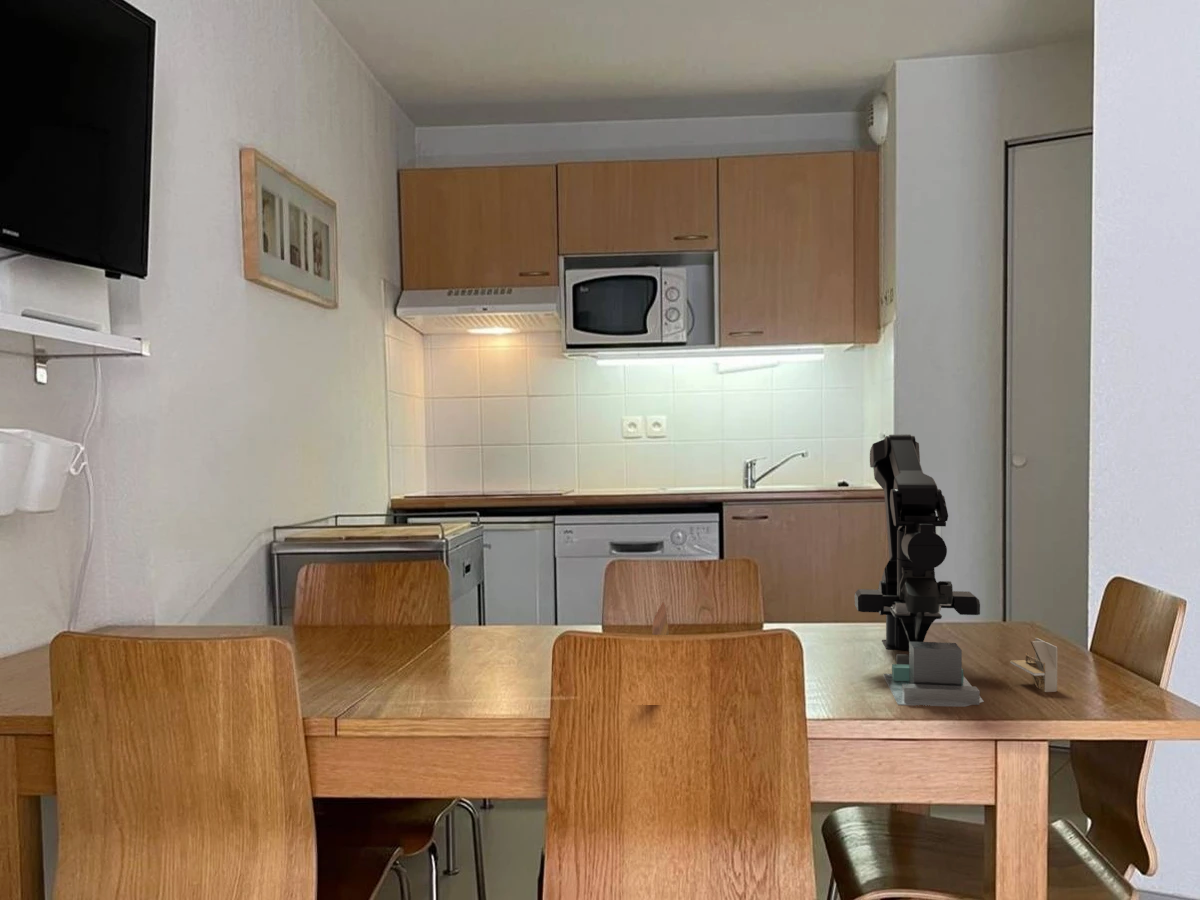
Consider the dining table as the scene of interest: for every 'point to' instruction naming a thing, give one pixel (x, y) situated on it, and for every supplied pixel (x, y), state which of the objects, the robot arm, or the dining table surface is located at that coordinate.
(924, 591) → the robot arm
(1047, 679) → the architectural model
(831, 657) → the dining table surface
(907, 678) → the free jaw
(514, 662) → the dining table surface
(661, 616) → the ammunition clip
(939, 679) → the steel block
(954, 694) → the vise base
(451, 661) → the dining table surface
